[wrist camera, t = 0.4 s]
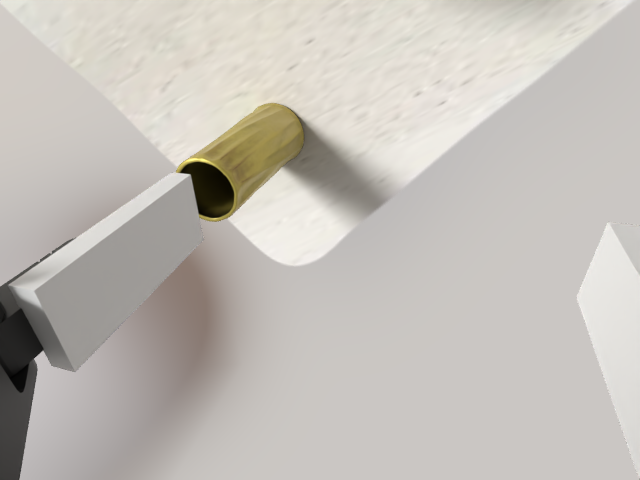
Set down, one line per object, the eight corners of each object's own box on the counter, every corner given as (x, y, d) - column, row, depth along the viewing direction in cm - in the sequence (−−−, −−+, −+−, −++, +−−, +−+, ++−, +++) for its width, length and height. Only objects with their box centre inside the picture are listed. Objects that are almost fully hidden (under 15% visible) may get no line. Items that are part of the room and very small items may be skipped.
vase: (316, 135, 41) (258, 197, 29) (279, 173, 44) (214, 241, 33) (272, 89, 40) (193, 134, 28) (237, 131, 43) (155, 186, 32)
